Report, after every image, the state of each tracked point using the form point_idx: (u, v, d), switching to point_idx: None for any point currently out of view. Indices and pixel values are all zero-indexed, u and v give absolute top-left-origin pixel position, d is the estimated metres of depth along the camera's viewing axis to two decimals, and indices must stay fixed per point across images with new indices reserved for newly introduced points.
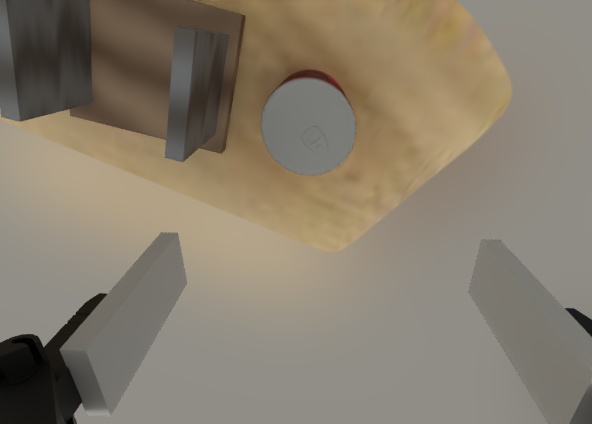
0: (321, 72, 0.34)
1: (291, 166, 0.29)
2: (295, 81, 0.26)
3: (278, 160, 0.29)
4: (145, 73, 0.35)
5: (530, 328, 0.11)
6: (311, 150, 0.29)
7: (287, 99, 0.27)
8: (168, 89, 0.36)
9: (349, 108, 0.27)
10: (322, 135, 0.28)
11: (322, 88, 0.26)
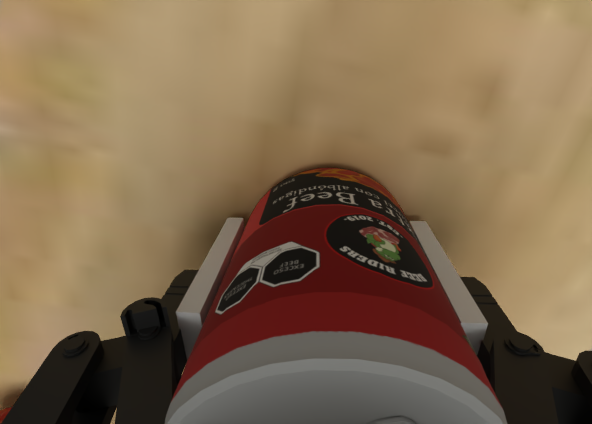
0: None
1: None
2: None
3: None
4: None
5: None
6: None
7: None
8: None
9: (200, 399, 0.06)
10: None
11: None
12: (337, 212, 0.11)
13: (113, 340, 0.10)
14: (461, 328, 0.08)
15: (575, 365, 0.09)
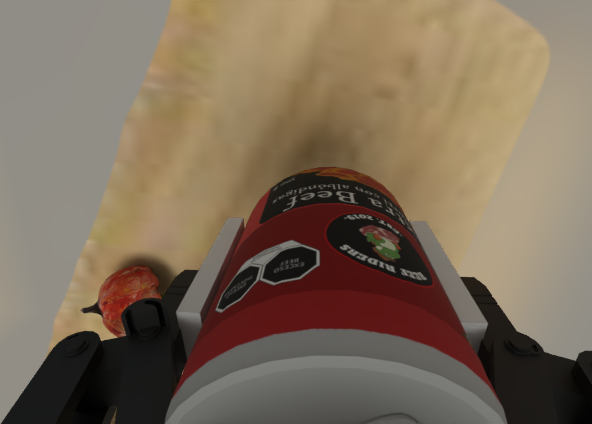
0: None
1: None
2: None
3: None
4: None
5: None
6: None
7: None
8: None
9: (201, 396, 0.06)
10: None
11: None
12: (337, 211, 0.11)
13: (113, 340, 0.10)
14: (461, 326, 0.08)
15: (575, 365, 0.09)
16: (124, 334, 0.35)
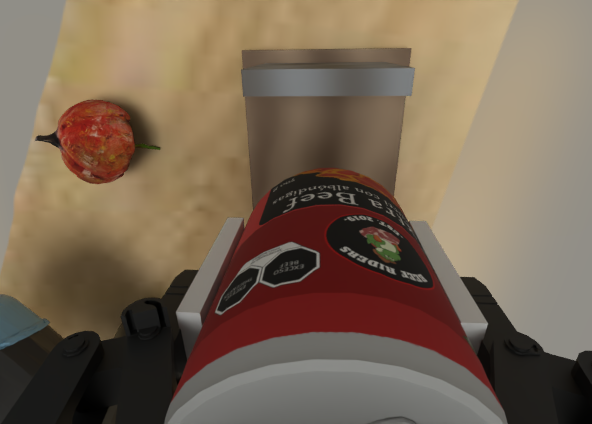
0: None
1: None
2: None
3: None
4: (328, 154, 0.32)
5: None
6: None
7: None
8: (340, 127, 0.31)
9: (200, 400, 0.06)
10: None
11: None
12: (337, 212, 0.11)
13: (113, 340, 0.10)
14: (461, 329, 0.08)
15: (575, 365, 0.09)
16: (87, 172, 0.29)
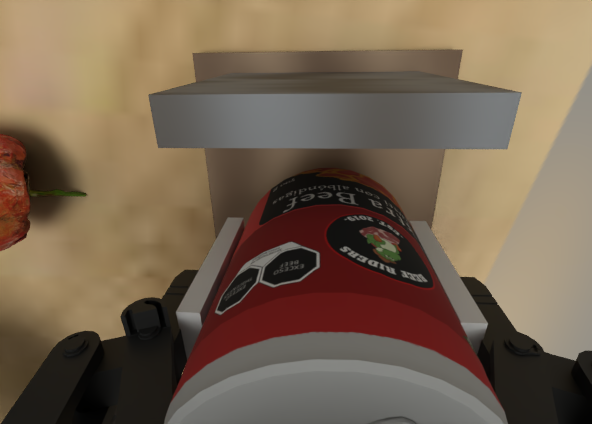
0: None
1: None
2: None
3: None
4: None
5: None
6: None
7: None
8: None
9: (200, 400, 0.06)
10: None
11: None
12: (337, 212, 0.11)
13: (113, 340, 0.10)
14: (462, 328, 0.08)
15: (575, 365, 0.09)
16: None
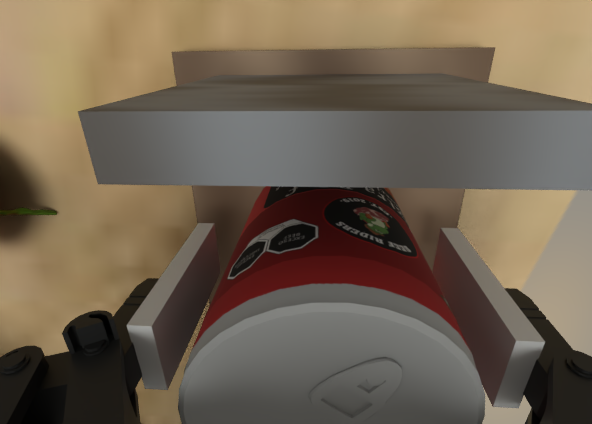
0: None
1: None
2: None
3: None
4: None
5: (473, 306, 0.12)
6: (389, 397, 0.09)
7: None
8: None
9: (219, 340, 0.08)
10: (335, 376, 0.08)
11: (195, 407, 0.09)
12: (334, 195, 0.12)
13: (60, 355, 0.10)
14: (440, 291, 0.10)
15: None
16: None
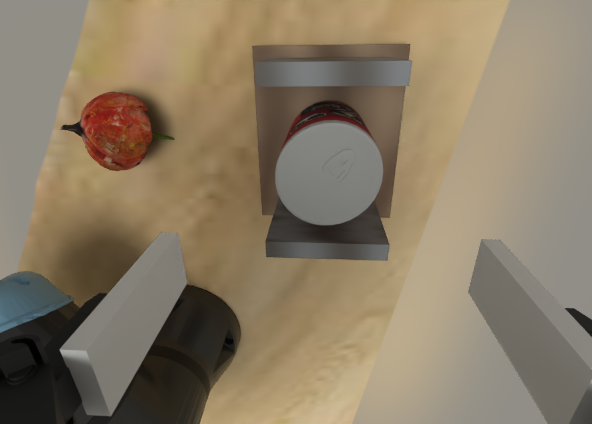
0: None
1: (374, 186, 0.24)
2: (282, 200, 0.25)
3: (369, 201, 0.25)
4: None
5: (530, 328, 0.11)
6: (350, 167, 0.24)
7: (302, 203, 0.26)
8: None
9: (293, 139, 0.23)
10: (332, 158, 0.24)
11: (281, 173, 0.25)
12: (332, 108, 0.28)
13: None
14: None
15: None
16: (109, 159, 0.32)
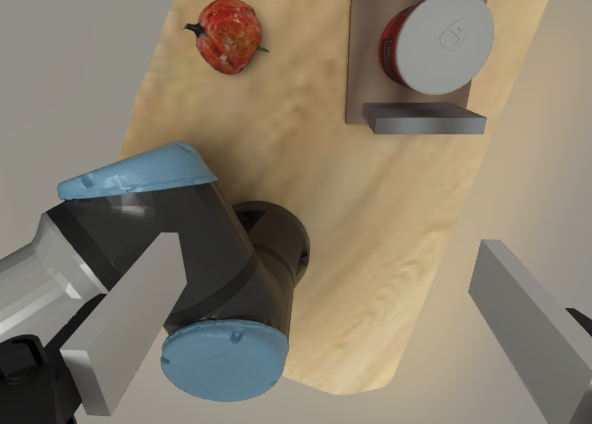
0: (380, 45, 0.37)
1: (484, 53, 0.28)
2: (400, 70, 0.29)
3: (478, 68, 0.29)
4: None
5: (530, 328, 0.11)
6: (464, 36, 0.28)
7: (416, 73, 0.29)
8: None
9: (419, 8, 0.27)
10: (449, 27, 0.28)
11: (403, 42, 0.28)
12: None
13: None
14: None
15: None
16: (224, 56, 0.35)
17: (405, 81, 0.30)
